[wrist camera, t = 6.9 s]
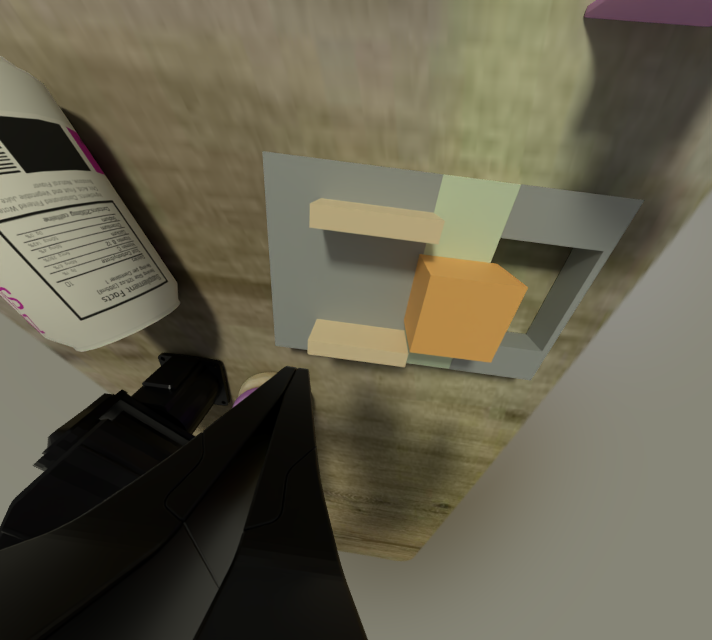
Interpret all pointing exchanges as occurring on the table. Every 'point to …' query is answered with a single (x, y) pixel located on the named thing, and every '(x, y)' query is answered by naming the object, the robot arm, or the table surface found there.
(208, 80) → the table surface
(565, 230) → the tunnel board
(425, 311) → the block
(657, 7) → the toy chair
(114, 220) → the supplement can
